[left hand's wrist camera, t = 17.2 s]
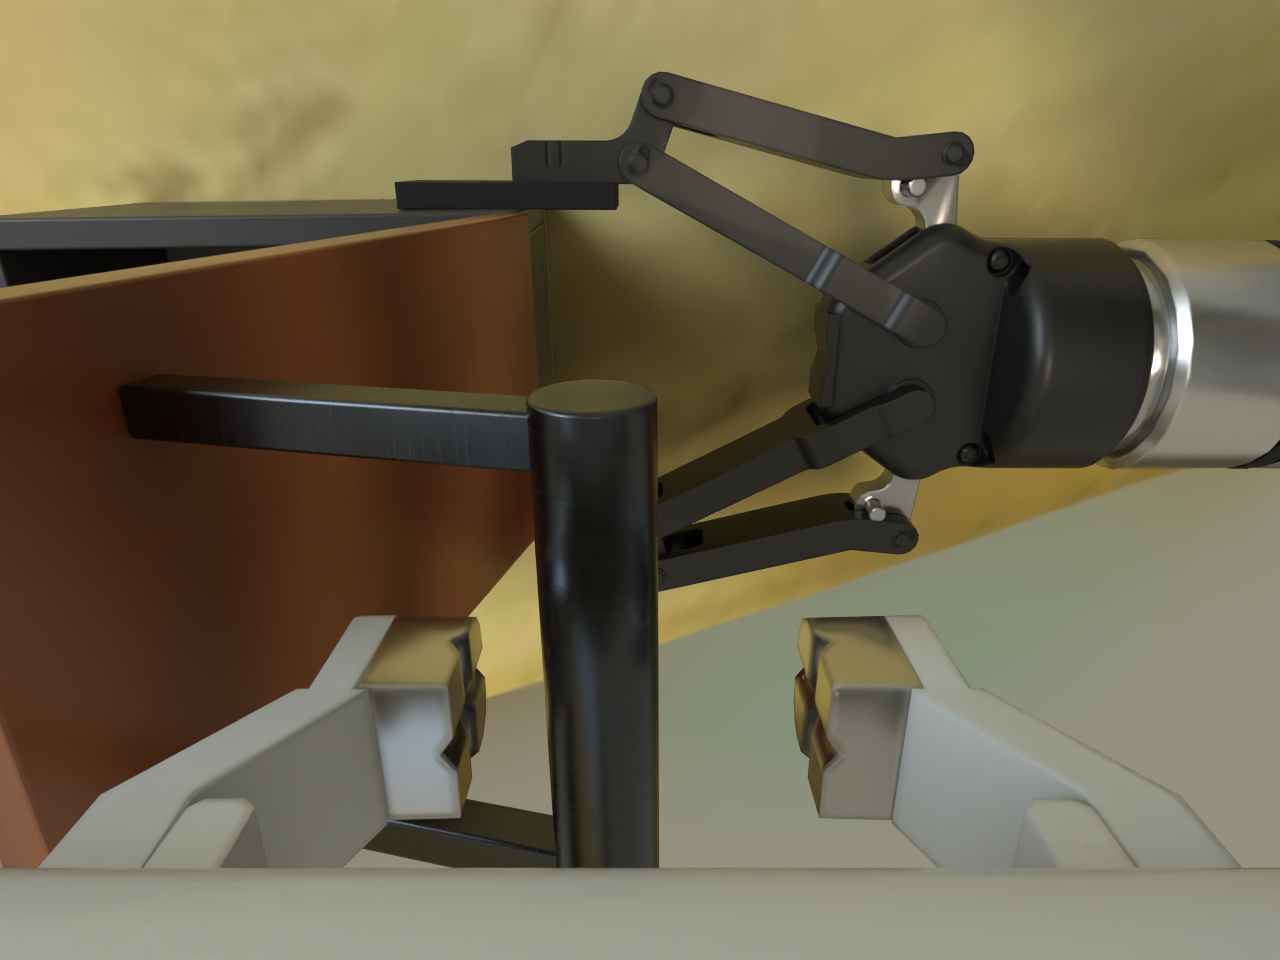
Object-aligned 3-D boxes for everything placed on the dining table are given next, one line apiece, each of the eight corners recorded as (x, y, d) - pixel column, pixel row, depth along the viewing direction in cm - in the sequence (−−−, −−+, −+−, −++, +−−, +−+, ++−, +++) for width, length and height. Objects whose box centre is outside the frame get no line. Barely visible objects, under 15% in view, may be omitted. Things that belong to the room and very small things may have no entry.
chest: (196, 433, 34) (50, 527, 26) (144, 202, 31) (-45, 218, 22) (556, 427, 35) (535, 518, 26) (544, 197, 31) (515, 211, 22)
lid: (59, 1014, 11) (600, 1175, 9) (-221, 320, 7) (562, 358, 6) (520, 522, 25) (763, 547, 24) (497, 212, 22) (779, 213, 20)
